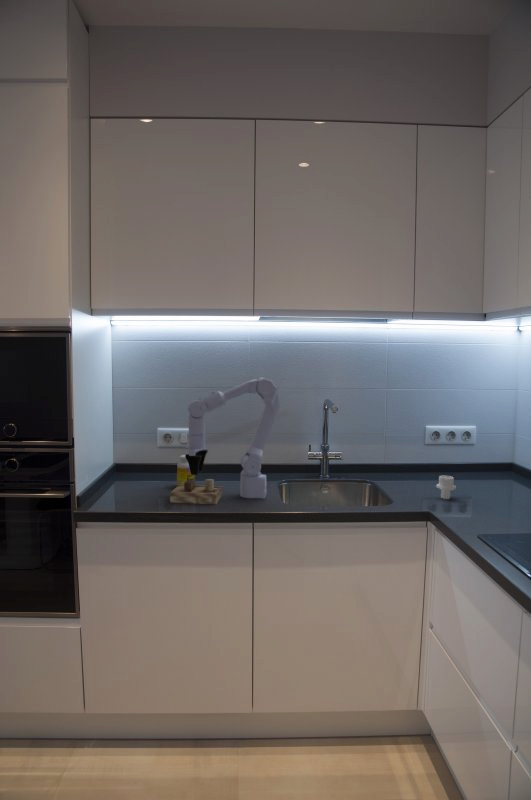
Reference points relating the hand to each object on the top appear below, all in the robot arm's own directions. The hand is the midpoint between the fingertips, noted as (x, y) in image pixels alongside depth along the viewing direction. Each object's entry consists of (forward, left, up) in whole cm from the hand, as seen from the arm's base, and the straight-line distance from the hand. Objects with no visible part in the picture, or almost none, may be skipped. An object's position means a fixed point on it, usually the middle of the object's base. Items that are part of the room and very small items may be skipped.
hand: (196, 472), depth 195 cm
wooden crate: (-1, +3, -10) cm, 10 cm away
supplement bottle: (+7, -14, -10) cm, 19 cm away
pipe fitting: (-91, -18, -10) cm, 93 cm away
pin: (-5, +3, -9) cm, 11 cm away
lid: (-1, +3, -7) cm, 7 cm away
